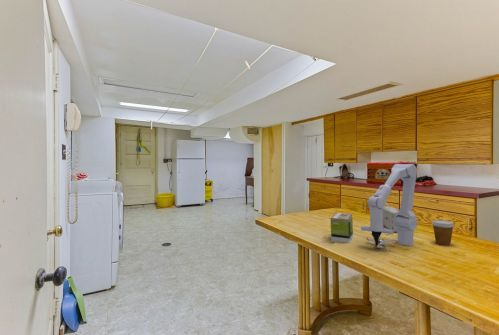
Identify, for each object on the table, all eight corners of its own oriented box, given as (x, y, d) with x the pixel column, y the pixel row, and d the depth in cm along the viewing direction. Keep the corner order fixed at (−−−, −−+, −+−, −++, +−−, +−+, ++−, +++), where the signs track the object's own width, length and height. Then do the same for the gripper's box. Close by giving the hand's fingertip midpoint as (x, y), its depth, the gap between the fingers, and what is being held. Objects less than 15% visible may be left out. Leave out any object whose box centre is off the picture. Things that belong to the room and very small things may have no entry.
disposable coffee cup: (448, 241, 137) (448, 220, 136) (458, 247, 128) (458, 224, 127) (429, 240, 139) (428, 219, 139) (436, 246, 130) (436, 223, 130)
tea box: (336, 235, 153) (335, 212, 152) (353, 237, 147) (353, 213, 147) (330, 242, 140) (330, 217, 139) (349, 245, 135) (349, 218, 134)
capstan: (366, 242, 136) (366, 235, 136) (395, 246, 128) (395, 239, 128) (363, 248, 125) (363, 241, 125) (394, 254, 118) (394, 246, 118)
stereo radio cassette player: (406, 233, 154) (406, 201, 153) (392, 233, 155) (392, 201, 155) (392, 224, 174) (392, 196, 174) (380, 224, 176) (379, 196, 175)
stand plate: (370, 243, 137) (370, 240, 137) (393, 246, 131) (393, 243, 131) (366, 251, 125) (366, 247, 125) (391, 255, 119) (391, 251, 119)
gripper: (359, 219, 126) (360, 245, 126) (392, 223, 118) (392, 251, 118) (362, 217, 132) (362, 242, 132) (393, 220, 124) (393, 246, 124)
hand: (376, 246), depth 125 cm, fingers closed, pressing on capstan
